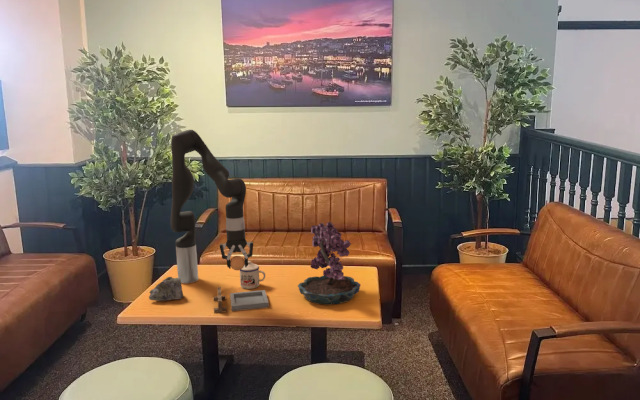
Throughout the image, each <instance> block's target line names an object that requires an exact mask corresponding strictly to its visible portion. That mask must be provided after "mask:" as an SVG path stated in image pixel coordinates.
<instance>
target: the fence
mask: <svg viewBox="0 0 640 400" xmlns="http://www.w3.org/2000/svg"><path fill="white" fill-rule="evenodd" d="M216 289H217V296H213V301H214V302H217V307H214V308H213V313H214V314H215V313H221V312H222V313H227V311H228V308H227V306H223V302H222V301H227V298H226V295H222V288H221V287H219V286H218V287H216Z"/></svg>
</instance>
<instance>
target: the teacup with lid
mask: <svg viewBox="0 0 640 400" xmlns="http://www.w3.org/2000/svg"><path fill="white" fill-rule="evenodd" d="M259 269H260V266H259V265H258V264H256V263H254V262H252V261H251V260H248V266H247V267H245V265H244V267H243V268H242V269H241V270H239V283H240V288H242V289H243V290H246V289H247V290H251V289H252V290H253V289H256V288H258V287H259V286H260V282H264V280H265V279H266V272H265V271H263V270H259ZM260 273H261V274H262V275H263V277H262V279H260Z"/></svg>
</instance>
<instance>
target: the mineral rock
mask: <svg viewBox="0 0 640 400" xmlns="http://www.w3.org/2000/svg"><path fill="white" fill-rule="evenodd" d="M183 297H184V293H183V288H182V283H181V281H180V278H178V277H172V276H167V277H166V278H164V279H163V280H162V281H161V282H159V283H158V284H157V285H156V286H155V287H154V288H153V289H151V290H150V291H149V296H148V299H149V300H150V301H154V302H155V301H156V302H157V301H159V302H162V301H163V302H164V301H170V300H171V301H172V300H181V299H183Z"/></svg>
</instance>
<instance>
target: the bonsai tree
mask: <svg viewBox="0 0 640 400" xmlns="http://www.w3.org/2000/svg"><path fill="white" fill-rule="evenodd" d="M310 232H311V235H313V234H314V235H313V236H312V241H311V242H312V243H311V245H312V247H313V248H317V247H318V248H319V250H318V251H317V254H316V256H315V257H314V258H313V259H311V261H310V268H311V269H312V270H313V269H315V270H318V269H320V268H321V269H323V271H322V275H321V276H309V277H307V278H306V279H304V280H303V282H299V284H298V285H297V288H298V291H299V293H300V294H301V295H303V296H304V298H305V299H306V300H307V301H309V302H311V303H314V304H317V305H328V306H330V305H339V304H343V303H348V302H349V301H351V300H352V299H353V298H354V296H355V295H356V294H359V292H360V289H361V283H360V282H358V281H355V279H354V278H353V277H352V276H346V275H344V272H343V270H344V265H343V264H342V261H340V260H341V258H342V257H348V256H349V255H350V251H349V249H348V248H350V246H351V245H352V243H351V241H350V240H349V239H346V240H343V239H342V233H341V232H339V231H338V230H337V228H336V227H335V225H334V224H333V223H332V222H331V221H329V222H326V224H325V223H324V222H320V223H319V224H318V225H315V224H314V225H312V226H311V227H310ZM336 252H337V253H336ZM335 253H336V254H337V255H336V254H335ZM340 257H341V258H340ZM328 266H329V267H328Z"/></svg>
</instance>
